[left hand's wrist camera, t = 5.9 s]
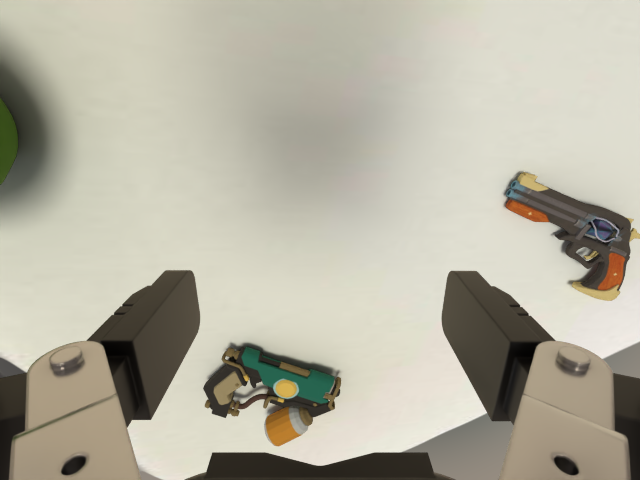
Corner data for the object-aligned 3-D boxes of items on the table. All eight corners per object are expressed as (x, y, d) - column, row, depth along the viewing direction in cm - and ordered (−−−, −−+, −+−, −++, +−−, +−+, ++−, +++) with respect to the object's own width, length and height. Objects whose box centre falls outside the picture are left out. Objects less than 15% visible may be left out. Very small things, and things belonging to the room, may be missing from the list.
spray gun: (196, 386, 50) (252, 312, 47) (290, 442, 53) (351, 377, 49) (184, 408, 46) (245, 330, 43) (287, 468, 49) (353, 399, 45)
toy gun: (615, 308, 42) (683, 241, 38) (474, 250, 41) (528, 173, 36) (601, 295, 45) (664, 230, 40) (468, 240, 43) (518, 166, 39)
